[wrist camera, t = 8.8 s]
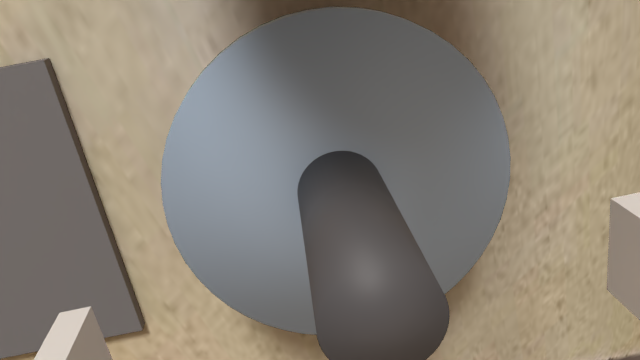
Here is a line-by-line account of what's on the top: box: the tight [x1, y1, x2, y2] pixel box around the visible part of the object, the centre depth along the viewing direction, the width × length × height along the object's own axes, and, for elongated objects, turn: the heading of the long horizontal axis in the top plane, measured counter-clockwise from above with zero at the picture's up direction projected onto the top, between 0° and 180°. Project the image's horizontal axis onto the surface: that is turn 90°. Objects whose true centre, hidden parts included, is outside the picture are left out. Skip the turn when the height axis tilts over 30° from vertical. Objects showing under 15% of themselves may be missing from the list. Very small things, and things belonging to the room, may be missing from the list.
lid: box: [161, 7, 510, 360], centre depth 17 cm, size 13×13×9 cm
